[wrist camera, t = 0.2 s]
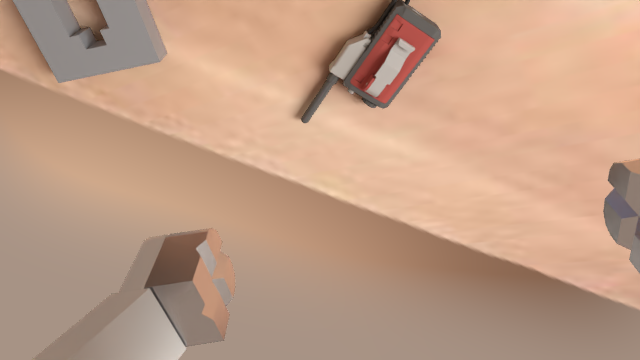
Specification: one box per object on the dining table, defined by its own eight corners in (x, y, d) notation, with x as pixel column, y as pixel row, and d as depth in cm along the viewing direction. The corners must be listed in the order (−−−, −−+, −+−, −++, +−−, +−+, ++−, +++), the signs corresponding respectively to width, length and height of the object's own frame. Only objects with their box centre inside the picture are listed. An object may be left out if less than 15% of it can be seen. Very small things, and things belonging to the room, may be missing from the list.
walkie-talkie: (386, -25, 52) (296, 113, 61) (391, -16, 48) (294, 129, 58) (447, 18, 54) (351, 144, 64) (456, 29, 51) (353, 161, 60)
